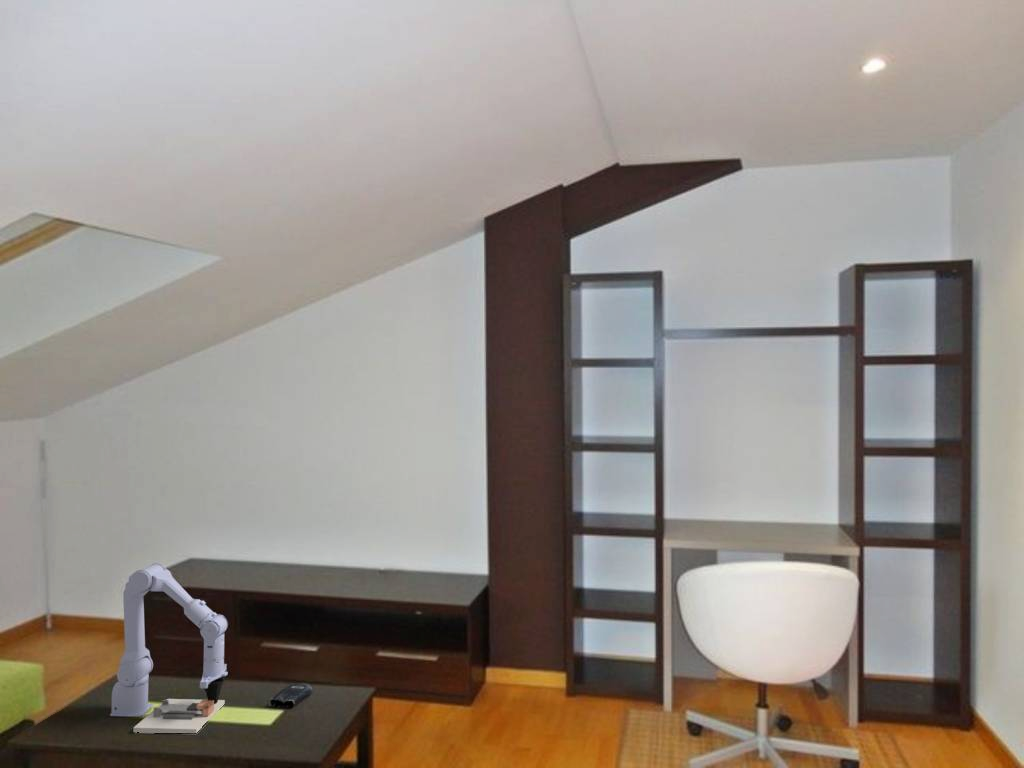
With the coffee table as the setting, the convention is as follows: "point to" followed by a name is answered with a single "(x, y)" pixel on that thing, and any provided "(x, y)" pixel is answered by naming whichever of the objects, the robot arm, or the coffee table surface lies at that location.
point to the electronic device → (292, 694)
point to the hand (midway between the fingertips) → (213, 703)
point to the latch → (206, 707)
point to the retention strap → (180, 708)
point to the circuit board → (175, 719)
